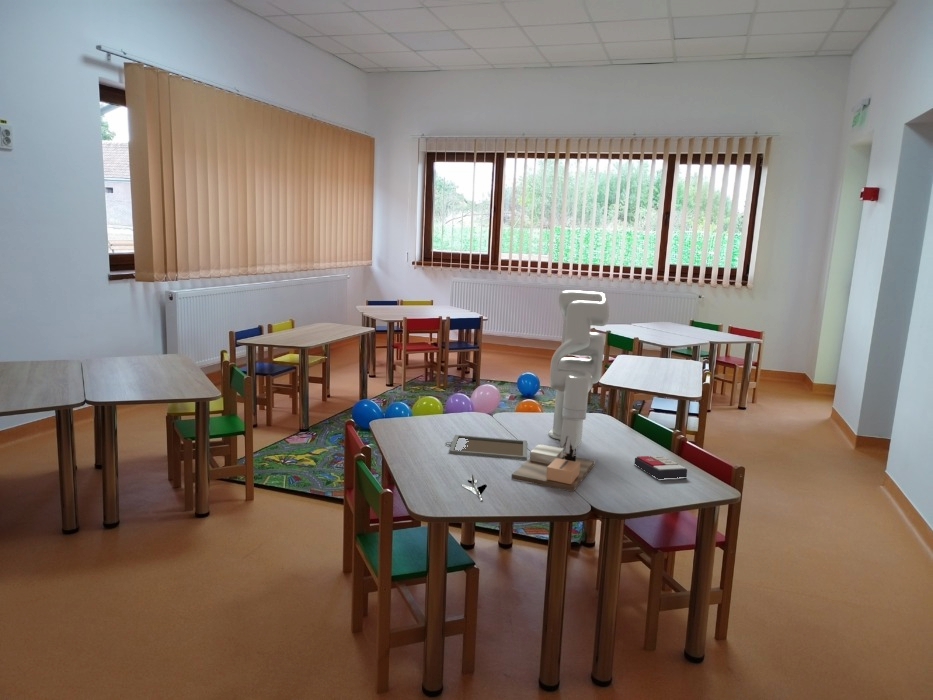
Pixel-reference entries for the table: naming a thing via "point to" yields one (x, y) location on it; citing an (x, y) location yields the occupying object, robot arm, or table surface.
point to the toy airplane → (475, 488)
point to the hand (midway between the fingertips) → (569, 467)
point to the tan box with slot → (563, 471)
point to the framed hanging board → (491, 447)
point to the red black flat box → (661, 467)
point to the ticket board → (541, 459)
